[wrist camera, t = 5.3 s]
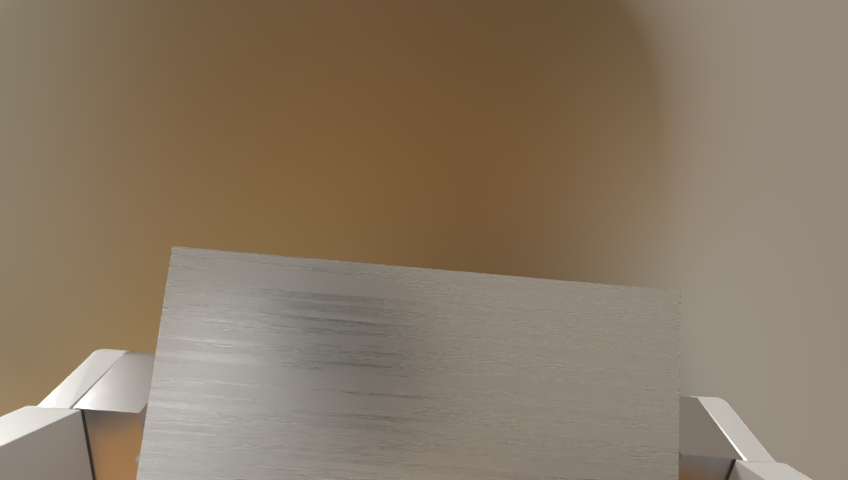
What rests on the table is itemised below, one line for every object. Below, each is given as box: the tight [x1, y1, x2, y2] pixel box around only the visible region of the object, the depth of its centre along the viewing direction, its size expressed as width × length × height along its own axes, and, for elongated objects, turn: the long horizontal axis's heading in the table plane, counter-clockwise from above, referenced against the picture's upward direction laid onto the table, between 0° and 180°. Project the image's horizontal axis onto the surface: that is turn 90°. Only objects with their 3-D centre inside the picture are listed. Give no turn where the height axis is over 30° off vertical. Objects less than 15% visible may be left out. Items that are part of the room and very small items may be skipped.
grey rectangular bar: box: [136, 246, 681, 480], centre depth 15 cm, size 4×22×4 cm, turn 3°
